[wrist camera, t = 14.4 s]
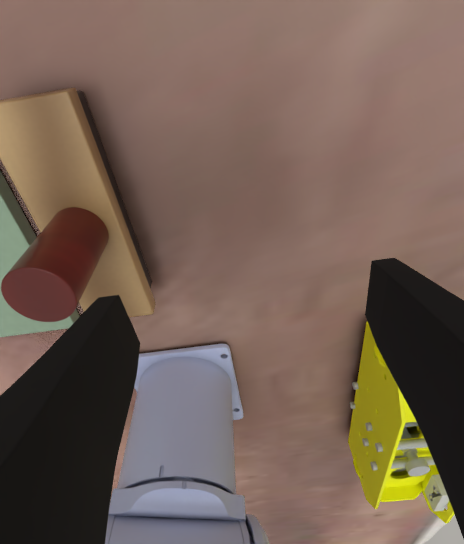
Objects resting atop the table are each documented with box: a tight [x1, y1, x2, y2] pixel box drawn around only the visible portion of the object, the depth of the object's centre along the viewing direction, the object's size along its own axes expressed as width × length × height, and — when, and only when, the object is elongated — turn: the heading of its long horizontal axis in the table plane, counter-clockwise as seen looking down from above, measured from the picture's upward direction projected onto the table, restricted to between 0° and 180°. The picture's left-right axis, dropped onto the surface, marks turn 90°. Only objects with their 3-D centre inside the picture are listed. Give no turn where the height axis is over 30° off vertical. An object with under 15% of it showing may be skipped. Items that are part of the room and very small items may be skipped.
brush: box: [0, 88, 155, 322], centre depth 16 cm, size 4×12×8 cm, turn 8°
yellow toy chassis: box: [348, 321, 454, 523], centre depth 25 cm, size 16×6×8 cm, turn 7°
